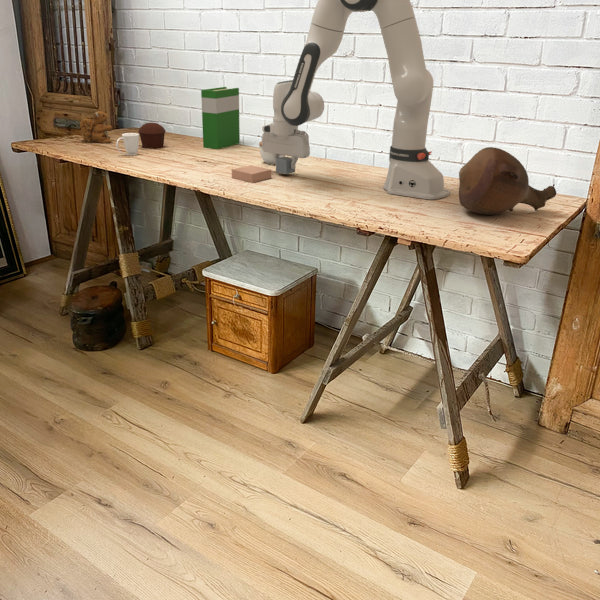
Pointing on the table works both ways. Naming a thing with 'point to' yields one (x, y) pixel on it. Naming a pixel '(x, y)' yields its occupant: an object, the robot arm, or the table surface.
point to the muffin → (152, 135)
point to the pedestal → (251, 173)
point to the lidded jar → (268, 156)
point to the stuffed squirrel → (96, 128)
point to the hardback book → (220, 117)
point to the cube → (284, 165)
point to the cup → (130, 143)
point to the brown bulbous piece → (498, 184)
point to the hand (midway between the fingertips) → (285, 167)
